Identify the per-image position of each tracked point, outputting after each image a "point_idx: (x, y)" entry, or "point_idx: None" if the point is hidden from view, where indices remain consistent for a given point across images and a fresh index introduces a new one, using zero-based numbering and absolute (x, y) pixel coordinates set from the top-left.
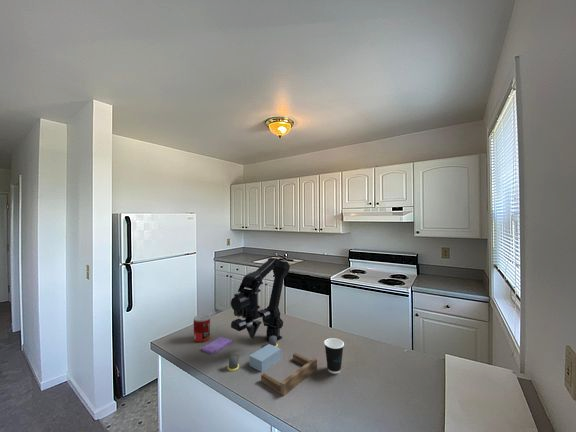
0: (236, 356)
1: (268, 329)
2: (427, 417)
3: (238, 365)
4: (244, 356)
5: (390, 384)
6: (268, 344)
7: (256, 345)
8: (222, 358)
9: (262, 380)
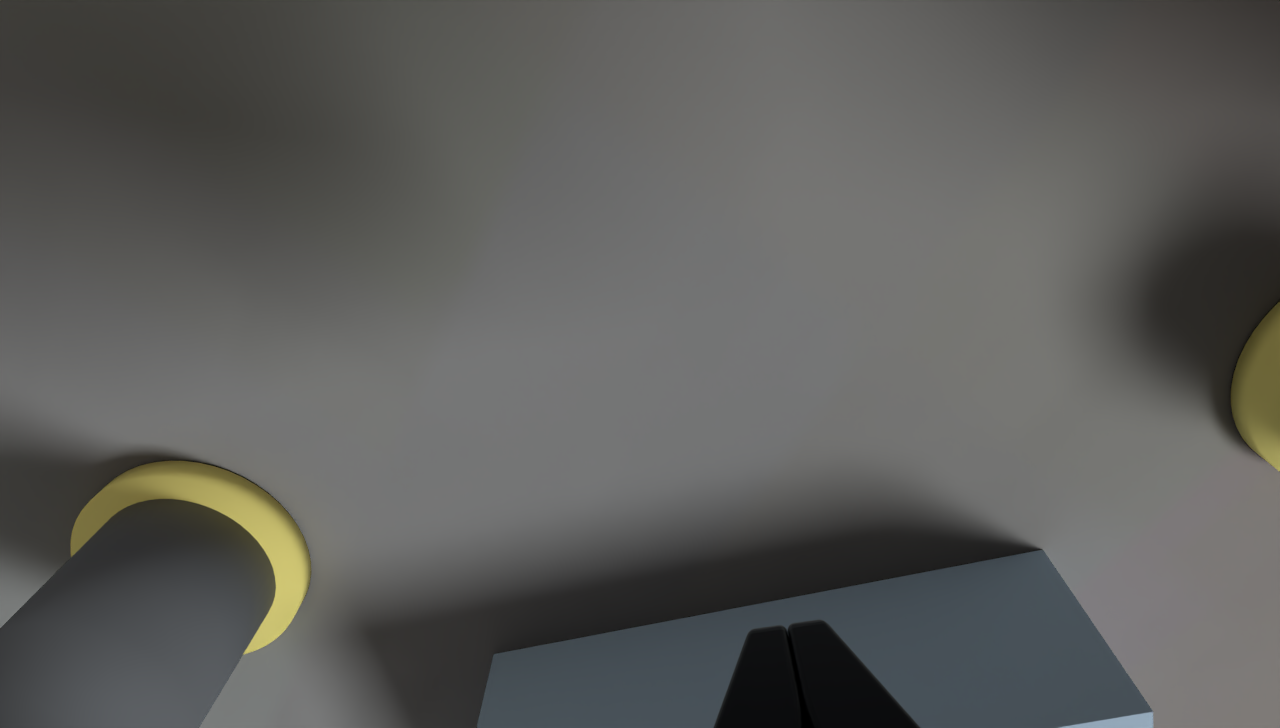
0: (172, 691)
1: None
2: None
3: (286, 603)
4: (549, 349)
5: None
6: (1121, 721)
7: (1100, 68)
8: (33, 95)
9: None
